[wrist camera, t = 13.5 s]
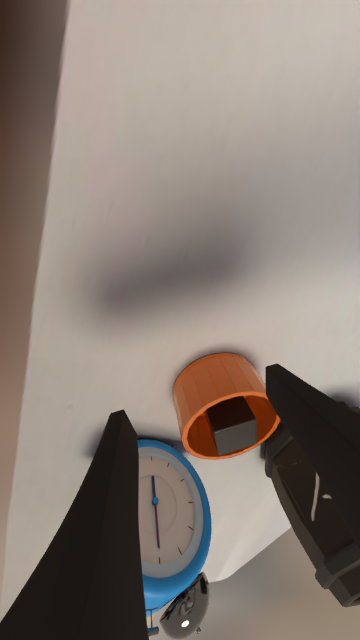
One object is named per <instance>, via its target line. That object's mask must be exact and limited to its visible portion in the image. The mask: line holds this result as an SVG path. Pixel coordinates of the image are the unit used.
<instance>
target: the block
mask: <svg viewBox="0 0 360 640" xmlns="http://www.w3.org/2000/svg"><path fill="white" fill-rule="evenodd" d="M204 414H205V417H206V420H207V423H208V426H209V429H210V432H211V435H212V438H213V441H214V444H215V447H216V450H217V453H218V455H219V456H220V455H223V454H226V453H229V452H232V451H236V450H239V449H242V448H245V447H248V446H251V445H254V444H257V421H256V418H255V416H254V414H253V412H252V410H251V409H250V407H249V405H248V403H247V401H246V400H245V398H244V396H237V397H233V398H230V399H227V400H223V401H221V402H219V403H217V404H215V405H213V406H211V407H210V408H208V409H206V410H205V411H204Z"/></svg>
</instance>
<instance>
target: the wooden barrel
mask: <svg viewBox="0 0 360 640" xmlns="http://www.w3.org/2000/svg"><path fill="white" fill-rule="evenodd" d="M339 403H340V404H342V405H344V406H346V407H348V408H349V409H351V410H353V411H355V412H357V413H359V414H360V408H358V407H349V406H348V405H346V404H345V403H344V402H339ZM264 457H265V472H266V476H267V477H269V478H271V479H272V482H273V485H274V487H275V490H276V492H277V495H278V498H279V500H280V503H281V505H282V507H283V509H284V511H285V513H286V515H287V517H288V519H289V521H290V524H291V526H292V528H293V530H294V532H295V534H296V536H297V537H298V539H299V540H300V543H301V544H302V546H303V548H304V549H305V551H306V553H307V555H308V556H309V558H310V560H311V561H312V563H313V565H314V567H315V568H316V570H317V571H316V573H315V577H316V579H317V580H318V582H319V583H320V585H321V586H322V587H323V588H324V589H330V591H331V592H332V594H333V595H334V596H335V597H336V599H337V600H338V601H339V603H340V604H341V605H342V606H344V607H350V606H355V605H360V550H359V548H358V546H357V544H356V543H355V541H354V539H353V537H352V535H351V533H350V531H349V530H348V528H347V526H346V524H345V522H344V520H343V518H342V517H341V515H340V513H339V511H338V509H337V508H336V506H335V504H334V502H333V501H332V499H331V497H330V495H329V493H328V492H327V490H326V488H325V486H324V485H323V483H322V481H321V480H320V478H319V476H318V475H317V473H316V471H315V469H314V468H313V466H312V465H311V463H310V462H309V460H308V458H307V457H306V456H305V454H304V453H303V451H302V450H301V448H300V447H299V446H298V444H297V443H296V441H295V440H294V438H293V437H292V436H291V434H290V433H289V431H288V430H287V428H286V427H285V426H284V424H283V423H281V424H280V425H279V426H278V427H277V428H276V430H275V431H274V432H273V433H272V434H271V435H270V436H269V437H268V438H267V439H266V441H265V454H264Z"/></svg>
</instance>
